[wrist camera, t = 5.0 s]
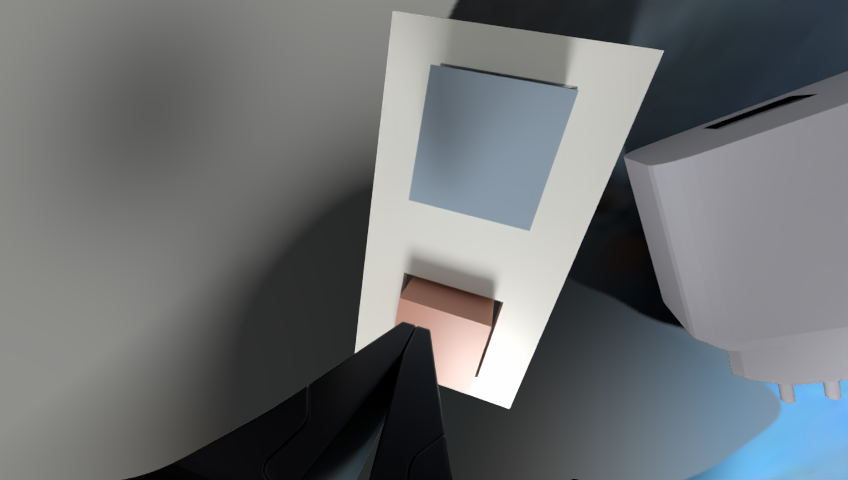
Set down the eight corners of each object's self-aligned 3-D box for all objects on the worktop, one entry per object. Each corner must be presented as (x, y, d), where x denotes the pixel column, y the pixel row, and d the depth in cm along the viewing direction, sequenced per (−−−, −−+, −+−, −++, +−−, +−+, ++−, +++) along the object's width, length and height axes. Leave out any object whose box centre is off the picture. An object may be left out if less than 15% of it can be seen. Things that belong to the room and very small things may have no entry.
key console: (509, 355, 22) (509, 408, 18) (381, 313, 24) (354, 353, 20) (622, 68, 15) (664, 50, 11) (422, 36, 16) (392, 10, 12)
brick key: (477, 339, 20) (468, 394, 16) (411, 317, 21) (387, 365, 17) (496, 280, 18) (491, 326, 14) (423, 259, 19) (399, 297, 15)
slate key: (525, 200, 15) (529, 231, 11) (435, 178, 16) (408, 200, 12) (558, 98, 13) (579, 90, 9) (454, 79, 14) (430, 64, 10)
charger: (679, 375, 20) (617, 153, 16) (887, 350, 16) (866, 61, 13) (725, 447, 15) (655, 167, 12) (1022, 434, 12) (1045, 33, 8)
